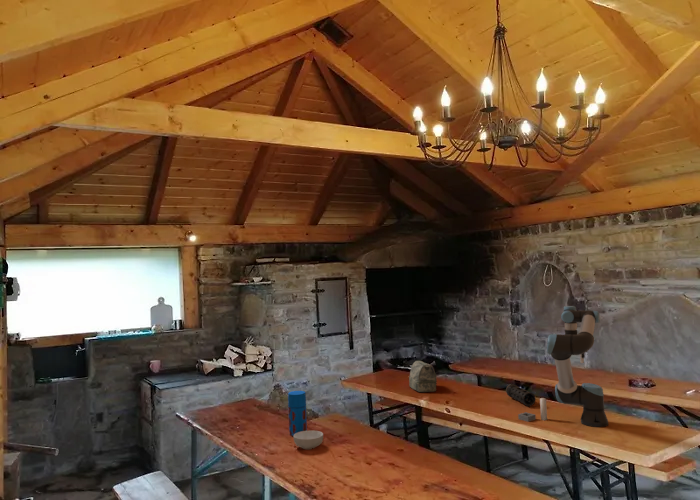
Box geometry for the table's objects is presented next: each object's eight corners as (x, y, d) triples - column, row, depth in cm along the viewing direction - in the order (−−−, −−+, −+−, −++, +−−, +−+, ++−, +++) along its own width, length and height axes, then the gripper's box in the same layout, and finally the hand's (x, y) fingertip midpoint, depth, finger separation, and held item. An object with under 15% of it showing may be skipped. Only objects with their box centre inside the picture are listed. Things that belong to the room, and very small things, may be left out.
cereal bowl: (329, 446, 290) (329, 433, 290) (306, 454, 278) (306, 441, 279) (310, 440, 302) (310, 427, 303) (287, 447, 291) (287, 435, 291)
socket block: (535, 419, 325) (535, 414, 325) (528, 421, 321) (527, 416, 321) (526, 416, 331) (525, 412, 331) (518, 419, 327) (518, 414, 327)
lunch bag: (439, 392, 405) (438, 364, 406) (417, 393, 402) (416, 365, 403) (428, 384, 431) (427, 358, 432) (408, 386, 427) (406, 360, 428)
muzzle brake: (523, 408, 351) (522, 392, 352) (505, 398, 379) (504, 384, 379) (536, 407, 353) (535, 391, 353) (517, 397, 380) (516, 383, 381)
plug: (548, 419, 323) (547, 398, 324) (544, 420, 321) (543, 399, 322) (543, 418, 326) (542, 397, 327) (539, 419, 324) (538, 398, 325)
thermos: (304, 430, 322) (302, 389, 323) (309, 434, 312) (307, 393, 313) (287, 432, 318) (286, 392, 319) (291, 437, 308) (290, 395, 309)
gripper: (551, 328, 349) (552, 359, 348) (584, 331, 328) (586, 364, 327) (557, 327, 353) (559, 358, 352) (591, 330, 332) (593, 363, 331)
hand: (572, 361), depth 340 cm, fingers open, 13 cm apart
